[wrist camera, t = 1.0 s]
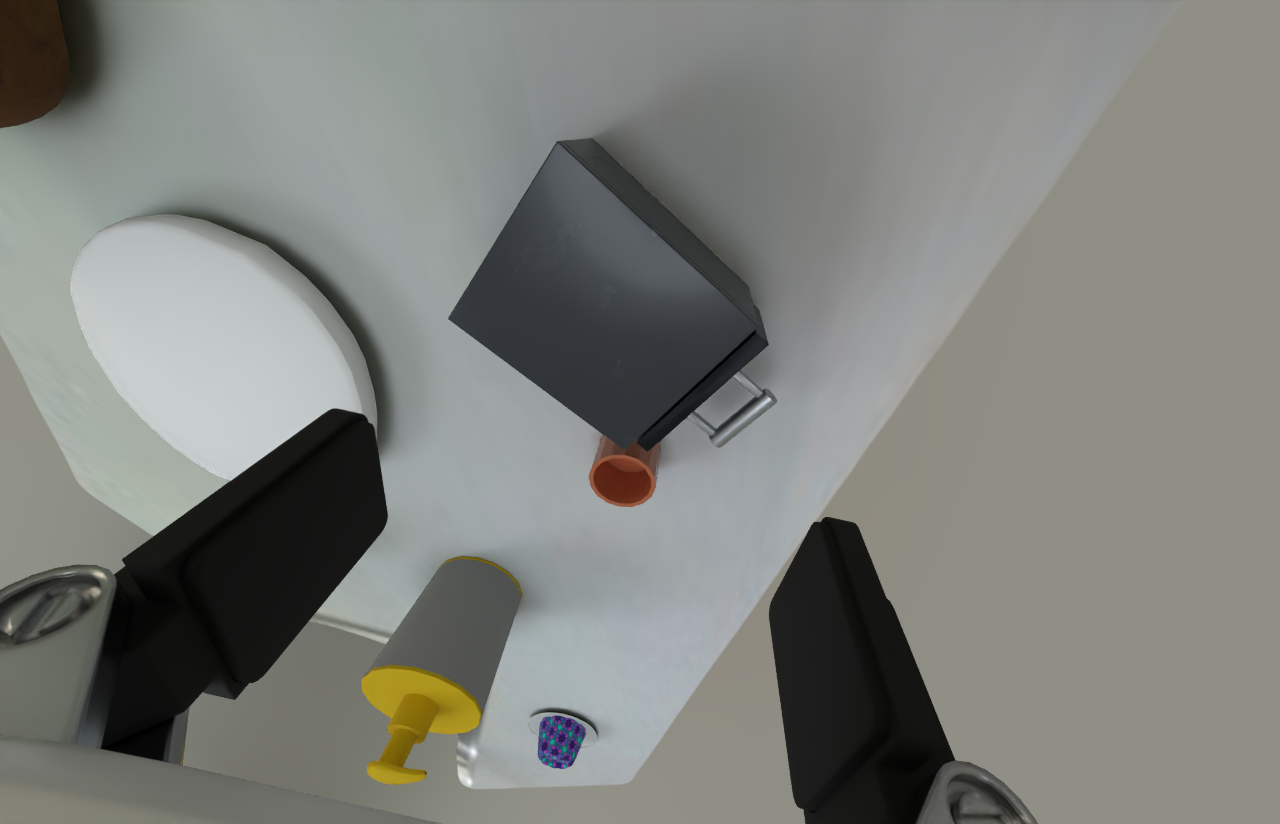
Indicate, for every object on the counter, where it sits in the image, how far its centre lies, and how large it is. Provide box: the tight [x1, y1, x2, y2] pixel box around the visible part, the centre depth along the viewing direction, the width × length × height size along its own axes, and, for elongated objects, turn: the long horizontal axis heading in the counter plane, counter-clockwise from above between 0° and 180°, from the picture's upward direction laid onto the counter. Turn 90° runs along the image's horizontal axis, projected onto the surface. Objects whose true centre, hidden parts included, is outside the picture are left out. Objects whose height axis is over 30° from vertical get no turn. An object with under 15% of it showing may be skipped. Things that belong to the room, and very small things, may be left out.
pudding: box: [528, 713, 597, 769], centre depth 76 cm, size 12×12×5 cm
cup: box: [589, 435, 660, 507], centre depth 43 cm, size 6×6×5 cm
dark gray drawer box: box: [448, 138, 758, 450], centre depth 33 cm, size 16×14×9 cm
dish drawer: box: [636, 305, 777, 452], centre depth 35 cm, size 19×12×7 cm, turn 50°
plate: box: [70, 214, 377, 481], centre depth 43 cm, size 28×6×27 cm
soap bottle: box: [362, 557, 522, 785], centre depth 52 cm, size 13×13×21 cm
